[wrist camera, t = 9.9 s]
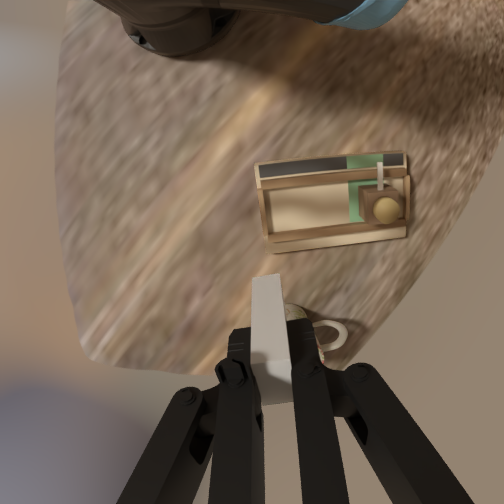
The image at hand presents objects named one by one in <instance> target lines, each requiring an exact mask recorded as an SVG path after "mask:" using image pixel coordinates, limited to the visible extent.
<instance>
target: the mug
mask: <svg viewBox="0 0 504 504" xmlns="http://www.w3.org/2000/svg"><path fill="white" fill-rule="evenodd" d="M285 309H286V316H287V321H288V320H294V319H300V318H306V317H307V315H306V313H305V312H304V310H303V309H302V308H301V307H299V306H297V305H294V304H285ZM312 324H313V327H319V326H332V327H334V328H336V329H337V330H338V331H339V337H338V338H337V340H335V341H334V342H332V343H328V344H323V345H320V343H319V341H318V339H317V337H316V335H315V337H316V341H317V346H318V350H319V355H320V359H321V362H322V363H323V364H324V353H323V352H326V351H330V350H334V349H337V348H339V347H341V346H342V345H343V344H344V343H345V341H346V339H347V337H348V331H347V329H346V327H345V326H344V325H343V324H341V323H339V322H336V321H331V320H322V321H318V322H314V323H312Z"/></svg>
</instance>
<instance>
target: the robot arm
mask: <svg viewBox="0 0 504 504" xmlns="http://www.w3.org/2000/svg"><path fill="white" fill-rule="evenodd" d="M94 1H95V2H97V3H99V4H101V5H102V6H104V7H106V8H107V9H109V10H111V11H112V12H114V13H115V14H117V15H119V16H120V17H121V21H122V24H123V27H124V29H125V31H126V33H127V34H128V36H129V37H130V38H131V39H132V40H133V41H134V42H135V43H136V44H138V45H139V46H141V47H142V48H144V49H146V50H148V51H150V52H152V53H155V54H159V55H164V56H183V55H189V54H193V53H196V52H199V51H202V50H204V49H206V48H208V47H210V46H212V45H213V44H215V43H216V42H218V41H219V40H220V39H221V38H223V37H224V36H225V35H226V34H227V33H228V32H229V30H230V29H231V28H232V27H233V25H234V24H235V22H236V20H237V18H238V15H239V13H240V10H248V11H257V12H266V13H273V14H280V15H287V16H293V17H298V18H304V19H309V20H313V21H314V22H315V23H317V24H321V25H337V26H341V27H346V28H350V29H355V30H369V29H374V28H377V27H379V26H381V25H383V24H385V23H387V22H388V21H389V20H391V19H392V18H393V17H394V16H395V15H396V14H397V13H398V12H399V11H400V10H401V9H402V8H403V6H404V5H405V4H406V3H407V1H408V0H94ZM215 372H216V375H217V377H218V379H219V382H220V383H219V384H218V385H217V386H215V387H213V388H211V389H207V390H204V391H200V390H199V389H198V388H195V387H186V388H183V389H180V390H179V391H177V392H176V393H175V395H174V396H173V398H172V399H171V401H170V403H169V405H168V407H167V409H166V411H165V413H164V414H163V417H162V418H161V420H160V422H159V424H158V426H157V428H156V430H155V431H154V433H153V435H152V437H151V439H150V441H149V443H148V445H147V447H146V448H145V450H144V452H143V454H142V456H141V458H140V460H139V461H138V463H137V465H136V467H135V469H134V471H133V473H132V475H131V477H130V478H129V480H128V482H127V484H126V486H125V488H124V490H123V492H122V494H121V495H120V497H119V499H118V501H117V503H116V504H192V503H193V500H194V498H195V496H196V493H197V491H198V488H199V486H200V483H201V481H202V478H203V476H204V473H205V471H206V468H207V465H208V463H209V461H210V458H211V455H212V453H213V457H212V467H211V478H210V488H209V499H208V504H265V481H264V480H265V475H264V474H265V473H264V427H263V426H264V424H263V423H264V421H263V413H262V409H261V402H262V405H263V406H264V405H272V404H280V403H287V402H294V411H295V421H296V432H297V443H298V454H299V465H300V477H301V489H302V501H303V504H349V497H348V492H347V485H346V480H345V474H344V468H343V462H342V457H341V451H340V446H339V441H338V436H337V430H336V425H335V420H334V416H335V417H344V419H345V421H346V423H347V424H348V426H349V428H350V429H351V431H352V433H353V435H354V437H355V438H356V440H357V442H358V444H359V445H360V447H361V449H362V451H363V452H364V454H365V456H366V458H367V459H368V461H369V463H370V465H371V466H372V468H373V470H374V471H375V473H376V475H377V477H378V479H379V480H380V482H381V484H382V485H383V487H384V489H385V491H386V493H387V494H388V496H389V498H390V499H391V501H392V503H393V504H474V503H473V501H472V500H471V498H470V497H469V495H468V494H467V493H466V491H465V490H464V488H463V487H462V485H461V484H460V483H459V481H458V480H457V478H456V477H455V476H454V474H453V473H452V472H451V470H450V469H449V467H448V466H447V464H446V463H445V462H444V460H443V459H442V457H441V456H440V455H439V453H438V452H437V451H436V449H435V448H434V446H433V445H432V444H431V442H430V441H429V440H428V438H427V437H426V436H425V434H424V433H423V432H422V430H421V429H420V427H419V426H418V425H417V423H416V422H415V421H414V419H413V418H412V417H411V415H410V414H409V413H408V411H407V410H406V409H405V407H404V406H403V405H402V403H401V402H400V401H399V399H398V398H397V397H396V395H395V394H394V393H393V391H392V390H391V389H390V387H389V386H388V385H387V383H386V382H385V381H384V379H383V378H382V377H381V376H380V374H379V373H378V372H377V370H376V369H375V368H374V367H373V366H371V365H370V364H367V363H356V364H352V365H351V366H349V367H348V368H347V369H346V370H345V371H339V370H332V369H329V368H327V367H326V366H324V365H323V363H322V362H321V359H320V355H319V350H318V346H317V341H316V337H315V333H314V328H313V324H312V322H311V321H310V320H309V319H308V318H307V317H306V318H300V319H294V320H288V321H287V316H286V309H285V303H284V298H283V292H282V286H281V280H280V275H279V273H278V274H272V275H266V276H260V277H254V278H252V309H251V327H247V328H240V329H234V330H233V331H232V333H231V335H230V336H229V342H228V352H227V358H225V359H223V360H221V361H220V362H219V363H218V364H217V365H216V367H215Z"/></svg>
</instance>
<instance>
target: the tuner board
mask: <svg viewBox="0 0 504 504" xmlns="http://www.w3.org/2000/svg"><path fill="white" fill-rule="evenodd" d="M377 162H382V163H383V183H386V184H388V185H390V186H391V187H393V188H395V189H396V190H398V205H399V208H400V213H399V216H398V222H394V223H390V224H377V225H368V224H367V223H366V222H365V221H364V220H363V219H362V218H361V217H360V216H359V200H358V186H359V185H371V184H378V182H377ZM254 168H255V175H256V183H257V191H258V198H259V206H260V213H261V220H262V227H263V235H264V241H265V249H266V254H273V253H282V252H290V251H298V250H306V249H314V248H322V247H330V246H338V245H345V244H353V243H361V242H369V241H377V240H385V239H393V238H401V237H406V219H409V216H410V176H409V175H407V165H406V152H404V151H384V152H365V153H349V154H336V155H324V156H313V157H303V158H293V159H284V160H275V161H267V162H259V163H254Z"/></svg>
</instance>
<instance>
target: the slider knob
mask: <svg viewBox="0 0 504 504" xmlns="http://www.w3.org/2000/svg"><path fill="white" fill-rule="evenodd" d="M377 182H378V184H371V185H359V186H358V200H359V216H360V217H361V218H362V219H363V220H364V221H365V222H366V223H367V224H368V225H377V224H390V223H394V222H398V216H399V213H400V208H399V205H398V190H396V189H395V188H393V187H391V186H390V185H388V184H386V183H383V163H382V162H377Z"/></svg>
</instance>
